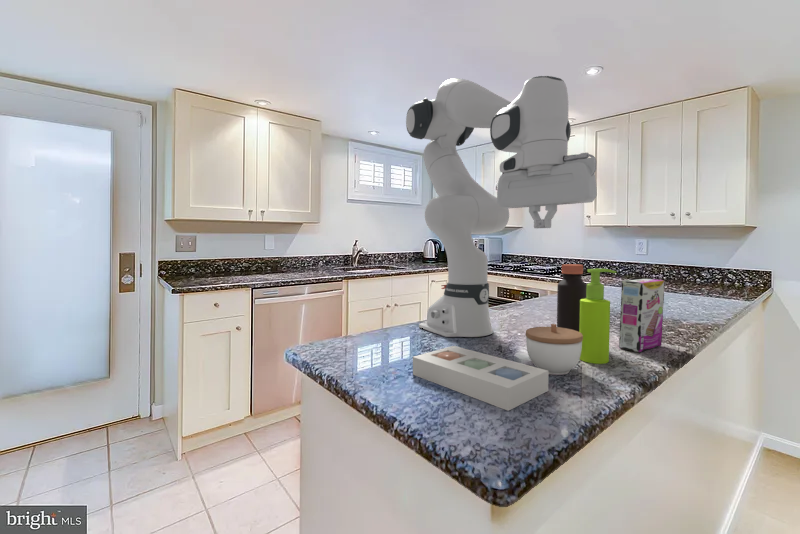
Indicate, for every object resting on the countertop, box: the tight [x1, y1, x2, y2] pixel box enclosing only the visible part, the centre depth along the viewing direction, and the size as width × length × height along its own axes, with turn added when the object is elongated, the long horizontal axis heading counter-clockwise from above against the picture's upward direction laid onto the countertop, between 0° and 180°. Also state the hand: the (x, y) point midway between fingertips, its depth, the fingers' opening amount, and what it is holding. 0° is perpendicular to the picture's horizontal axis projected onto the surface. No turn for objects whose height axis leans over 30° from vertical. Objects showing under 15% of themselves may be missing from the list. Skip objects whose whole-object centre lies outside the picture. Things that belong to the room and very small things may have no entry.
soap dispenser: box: [579, 267, 618, 365], centre depth 84 cm, size 6×7×20 cm
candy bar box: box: [618, 278, 666, 353], centre depth 94 cm, size 11×5×16 cm, turn 123°
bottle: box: [556, 263, 587, 332], centre depth 98 cm, size 7×7×20 cm
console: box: [412, 345, 549, 412], centre depth 72 cm, size 22×12×4 cm, turn 40°
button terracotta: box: [437, 352, 460, 361], centre depth 78 cm, size 4×4×3 cm
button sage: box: [464, 360, 489, 370], centre depth 72 cm, size 4×4×3 cm
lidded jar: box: [525, 323, 583, 376], centre depth 79 cm, size 11×11×9 cm
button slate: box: [496, 368, 522, 380], centre depth 67 cm, size 4×4×3 cm
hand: (542, 228), depth 80 cm, fingers closed
